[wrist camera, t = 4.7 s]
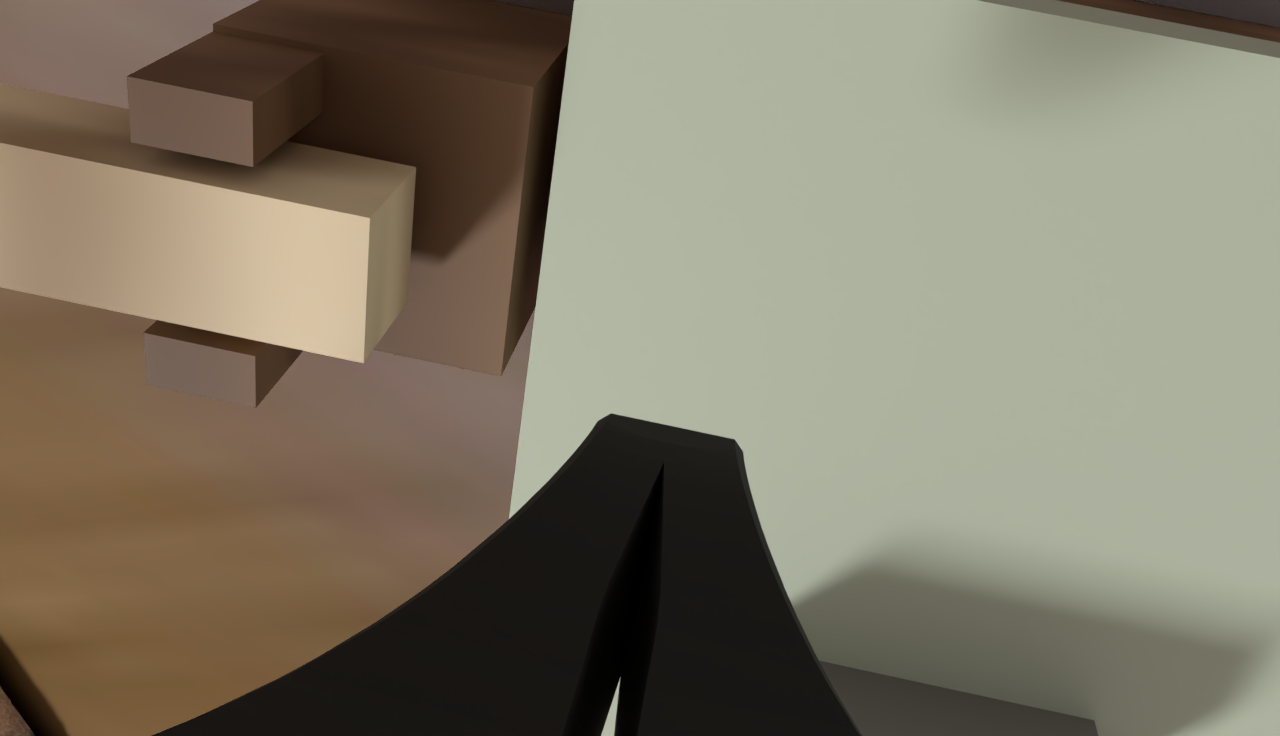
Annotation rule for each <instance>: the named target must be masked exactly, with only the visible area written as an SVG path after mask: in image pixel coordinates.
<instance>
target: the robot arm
mask: <svg viewBox="0 0 1280 736" xmlns="http://www.w3.org/2000/svg"><path fill="white" fill-rule="evenodd" d="M619 680H620V685H619V694H618V703H617V712H616V721H615V731H614V736H862V735H861V733H860V731H859V730H858V728H857V726H856V725H855V723H854V721H853V720H852V718H851V716H850V715H849V713H848V711H847V710H846V708H845V706H844V705H843V703H842V702H841V700H840V698H839V697H838V695H837V693H836V691H835V689H834V688H833V686H832V684H831V682H830V680H829V679H828V677H827V675H826V673H825V671H824V669H823V667H822V666H821V664H820V662H819V660H818V658H817V656H816V654H815V652H814V650H813V648H812V646H811V644H810V642H809V640H808V638H807V636H806V634H805V632H804V630H803V627H802V625H801V623H800V621H799V619H798V617H797V615H796V613H795V610H794V608H793V606H792V604H791V601H790V599H789V597H788V595H787V592H786V590H785V588H784V585H783V582H782V580H781V577H780V575H779V572H778V570H777V567H776V565H775V562H774V560H773V557H772V554H771V552H770V549H769V547H768V544H767V541H766V538H765V536H764V533H763V530H762V527H761V524H760V521H759V517H758V514H757V511H756V508H755V504H754V501H753V498H752V494H751V490H750V486H749V482H748V478H747V473H746V468H745V463H744V455H743V451H742V449H741V448H740V446H739V445H738V443H737V442H736V441H735V439H731V438H726V437H721V436H717V435H712V434H707V433H702V432H698V431H693V430H688V429H683V428H679V427H674V426H669V425H664V424H660V423H655V422H650V421H645V420H641V419H636V418H631V417H626V416H622V415H617V414H612V413H611V414H609V415H607V416H605V417H604V418H602V419H600V420H598V421H597V423H596V424H595V426H594V427H593V429H592V430H591V432H590V433H589V434H588V436H587V437H586V438H585V440H584V441H583V442H582V443H581V445H580V446H579V447H578V448H577V450H576V451H575V452H574V453H573V454H572V455H571V457H570V458H569V459H568V460H567V461H566V462H565V463H564V464H563V465H562V467H561V468H560V469H559V470H558V471H557V472H556V473H555V474H554V475H553V476H552V477H551V479H550V480H549V481H548V482H547V483H546V484H545V485H544V486H543V487H542V488H541V489H540V490H538V491H537V492H536V493H535V494H534V495H533V496H532V497H531V498H530V499H529V500H528V501H527V502H526V503H525V504H524V505H523V506H522V507H521V508H520V509H519V510H518V511H517V512H516V513H515V514H514V515H513V516H512V517H511V518H510V519H509V520H508V521H507V522H505V523H504V524H503V525H502V526H501V527H500V528H499V529H498V530H496V531H495V532H494V533H493V534H492V535H490V536H489V537H488V538H487V539H486V540H485V541H483V542H482V543H481V544H480V545H479V546H477V547H476V548H475V549H474V550H473V551H472V552H470V553H469V554H468V555H467V556H466V557H464V558H463V559H462V560H461V561H460V562H458V563H457V564H456V565H455V566H454V567H452V568H451V569H450V570H449V571H447V572H446V573H445V574H443V575H442V576H441V577H439V578H438V579H437V580H435V581H434V582H433V583H431V584H430V585H429V586H428V587H426V588H425V589H423V590H422V591H421V592H419V593H418V594H416V595H415V596H414V597H412V598H411V599H409V600H408V601H406V602H405V603H404V604H402V605H401V606H399V607H398V608H396V609H395V610H393V611H392V612H390V613H389V614H387V615H386V616H384V617H383V618H381V619H380V620H378V621H377V622H375V623H374V624H372V625H371V626H369V627H367V628H366V629H364V630H362V631H361V632H359V633H357V634H356V635H354V636H352V637H351V638H349V639H347V640H346V641H344V642H342V643H341V644H339V645H337V646H336V647H334V648H332V649H331V650H329V651H327V652H326V653H324V654H322V655H321V656H319V657H317V658H315V659H314V660H312V661H310V662H308V663H306V664H305V665H303V666H301V667H299V668H297V669H296V670H294V671H292V672H290V673H288V674H286V675H284V676H282V677H280V678H279V679H277V680H275V681H272V682H270V683H268V684H266V685H264V686H262V687H260V688H258V689H256V690H253V691H251V692H249V693H247V694H245V695H243V696H241V697H239V698H237V699H235V700H232V701H230V702H228V703H226V704H224V705H222V706H220V707H218V708H216V709H213V710H211V711H209V712H207V713H205V714H203V715H200V716H198V717H196V718H194V719H191V720H189V721H187V722H184V723H182V724H179V725H177V726H174V727H172V728H170V729H167V730H165V731H162V732H160V733H157V734H155V735H152V736H601V734H602V731H603V728H604V725H605V722H606V719H607V716H608V713H609V710H610V707H611V704H612V701H613V698H614V695H615V692H616V689H617V686H618V683H619Z"/></svg>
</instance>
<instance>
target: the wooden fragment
mask: <svg viewBox="0 0 1280 736" xmlns="http://www.w3.org/2000/svg"><path fill="white" fill-rule="evenodd" d="M0 736H34V734H33V732H32V730H31V729H30V728H29V726H28V725H27V724H26V722H25V721H24V720H23V718H22V717H21V715H20V714H19V712H18V710H17V709H16V708H15V707H14V706H13V705H12V704H11V700H10V699H9V698H8V696H7V695H6V694H5V693H4V692H3V690H2V688H1V687H0Z"/></svg>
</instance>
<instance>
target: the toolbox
mask: <svg viewBox="0 0 1280 736" xmlns="http://www.w3.org/2000/svg"><path fill="white" fill-rule="evenodd" d="M1058 1H1063V2H1068V3H1073V4H1079V5H1084V6H1089V7H1094V8H1100V9H1105V10H1110V11H1115V12H1121V13H1126V14H1131V15H1136V16H1142V17H1147V18H1152V19H1157V20H1163V21H1168V22H1173V23H1178V24H1184V25H1189V26H1194V27H1199V28H1205V29H1210V30H1215V31H1220V32H1226V33H1231V34H1236V35H1241V36H1246V37H1252V38H1257V39H1262V40H1267V41H1273V42H1278V43H1280V28H1276V27H1271V26H1266V25H1260V24H1255V23H1250V22H1245V21H1239V20H1234V19H1229V18H1224V17H1218V16H1213V15H1208V14H1203V13H1197V12H1192V11H1187V10H1182V9H1176V8H1171V7H1166V6H1161V5H1155V4H1150V3H1145V2H1140V1H1134V0H1058ZM571 22H572V16H567V15H562V14H557V13H552V12H547V11H542V10H537V9H531V8H526V7H521V6H516V5H511V4H506V3H501V2H495V1H490V0H260V1H258V2H256V3H254V4H252V5H250V6H248V7H246V8H244V9H242V10H240V11H238V12H236V13H234V14H232V15H230V16H228V17H226V18H224V19H222V20H220V21H218V22H216V23H214V24H213V32H212V33H210V34H208V35H206V36H204V37H202V38H200V39H198V40H196V41H194V42H192V43H190V44H188V45H186V46H184V47H183V48H181V49H179V50H177V51H175V52H173V53H171V54H169V55H167V56H165V57H163V58H161V59H159V60H157V61H155V62H154V63H152V64H150V65H148V66H146V67H144V68H142V69H140V70H138V71H136V72H134V73H132V74H130V75H128V76H127V87H128V103H129V118H130V133H131V142H132V143H137V144H142V145H147V146H152V147H157V148H162V149H166V150H171V151H176V152H181V153H186V154H191V155H196V156H201V157H206V158H211V159H216V160H221V161H226V162H231V163H235V164H240V165H245V166H250V167H254V166H255V165H256V164H258V163H259V162H260V161H262V160H263V159H264V158H265V157H267V156H268V155H269V154H270V153H272V152H273V151H274V150H276V149H277V148H278V147H279V146H281V145H282V144H283V143H284V142H286V141H289V142H294V143H299V144H304V145H309V146H314V147H319V148H324V149H329V150H334V151H339V152H344V153H349V154H353V155H358V156H363V157H368V158H373V159H378V160H383V161H388V162H393V163H398V164H403V165H408V166H413V167H416V179H415V194H414V210H413V226H412V242H411V257H410V273H409V289H408V302H407V303H406V305H405V306H404V307H403V309H402V310H401V312H400V313H399V314H398V316H397V317H396V319H395V320H394V321H393V323H392V324H391V326H390V327H389V328H388V330H387V331H386V333H385V334H384V335H383V337H382V338H381V340H380V341H379V342H378V344H377V345H376V347H375V348H374V349H373V350H377V351H382V352H387V353H391V354H396V355H401V356H406V357H410V358H415V359H420V360H425V361H430V362H434V363H439V364H444V365H449V366H454V367H458V368H463V369H468V370H473V371H478V372H482V373H487V374H492V375H497V376H501V375H502V373H503V371H504V369H505V367H506V365H507V363H508V361H509V359H510V357H511V355H512V353H513V351H514V349H515V347H516V345H517V343H518V341H519V339H520V337H521V335H522V333H523V331H524V329H525V327H526V325H527V323H528V320H529V318H530V316H531V314H532V312H533V310H534V308H535V306H536V300H537V292H538V284H539V276H540V268H541V260H542V252H543V244H544V236H545V228H546V220H547V212H548V205H549V197H550V189H551V181H552V173H553V165H554V157H555V149H556V141H557V133H558V125H559V117H560V109H561V101H562V93H563V85H564V77H565V69H566V61H567V53H568V45H569V37H570V30H571ZM143 334H144V349H145V365H146V380H147V385H149V386H154V387H158V388H163V389H168V390H173V391H177V392H182V393H187V394H191V395H196V396H201V397H206V398H210V399H215V400H220V401H224V402H229V403H234V404H239V405H243V406H248V407H253V408H256V407H257V406H258V405H259V403H260V402H261V401H262V400H263V399H264V397H265V396H266V395H267V394H268V393H269V391H270V390H271V389H272V388H273V386H274V385H275V384H276V383H277V382H278V380H279V379H280V378H281V377H282V376H283V374H284V373H285V372H286V371H287V369H288V368H289V367H290V366H291V365H292V363H293V362H294V361H295V360H296V359H297V357H298V356H299V355H300V354H301V352H302V351H303V350H298V349H294V348H289V347H284V346H279V345H274V344H270V343H265V342H260V341H255V340H251V339H246V338H241V337H236V336H231V335H227V334H222V333H217V332H212V331H208V330H203V329H198V328H193V327H188V326H184V325H179V324H174V323H169V322H165V321H160V320H157V321H156V322H155V323H154V324H153V325H152V326H150V327H149V328H148V329H147V330H146V331H145V332H144V333H143Z"/></svg>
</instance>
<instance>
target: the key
mask: <svg viewBox="0 0 1280 736" xmlns="http://www.w3.org/2000/svg"><path fill="white" fill-rule="evenodd" d="M415 179H416V167H413V166H408V165H403V164H398V163H393V162H388V161H383V160H378V159H373V158H368V157H363V156H358V155H353V154H349V153H344V152H339V151H334V150H329V149H324V148H319V147H314V146H309V145H304V144H299V143H294V142H289V141H286V142H284V143H283V144H282V145H281V146H279V147H278V148H277V149H276V150H274V151H273V152H272V153H270V154H269V155H268V156H267V157H265V158H264V159H263V160H262V161H260V162H259V163H258V164H256V165H255V166H254V167H250V166H245V165H240V164H235V163H231V162H226V161H221V160H216V159H211V158H206V157H201V156H196V155H191V154H186V153H181V152H176V151H171V150H166V149H162V148H157V147H152V146H147V145H142V144H137V143H132V142H131V133H130V118H129V109H125V108H120V107H115V106H110V105H105V104H101V103H96V102H91V101H86V100H81V99H76V98H71V97H66V96H61V95H56V94H51V93H46V92H41V91H36V90H31V89H26V88H21V87H16V86H11V85H6V84H1V83H0V287H2V288H7V289H12V290H17V291H21V292H26V293H31V294H36V295H40V296H45V297H50V298H55V299H60V300H64V301H69V302H74V303H79V304H83V305H88V306H93V307H98V308H103V309H107V310H112V311H117V312H122V313H126V314H131V315H136V316H141V317H146V318H150V319H155V320H160V321H165V322H169V323H174V324H179V325H184V326H188V327H193V328H198V329H203V330H208V331H212V332H217V333H222V334H227V335H231V336H236V337H241V338H246V339H251V340H255V341H260V342H265V343H270V344H274V345H279V346H284V347H289V348H294V349H298V350H303V351H308V352H313V353H317V354H322V355H327V356H332V357H336V358H341V359H346V360H351V361H356V362H360V363H364V362H365V361H366V359H367V358H368V356H369V355H370V354H371V352H372V351H373V349H374V348H375V347H376V345H377V344H378V342H379V341H380V340H381V338H382V337H383V335H384V334H385V333H386V331H387V330H388V328H389V327H390V326H391V324H392V323H393V321H394V320H395V319H396V317H397V316H398V314H399V313H400V312H401V310H402V309H403V307H404V306H405V305H406V303H407V302H408V289H409V273H410V257H411V242H412V226H413V210H414V194H415Z"/></svg>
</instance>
